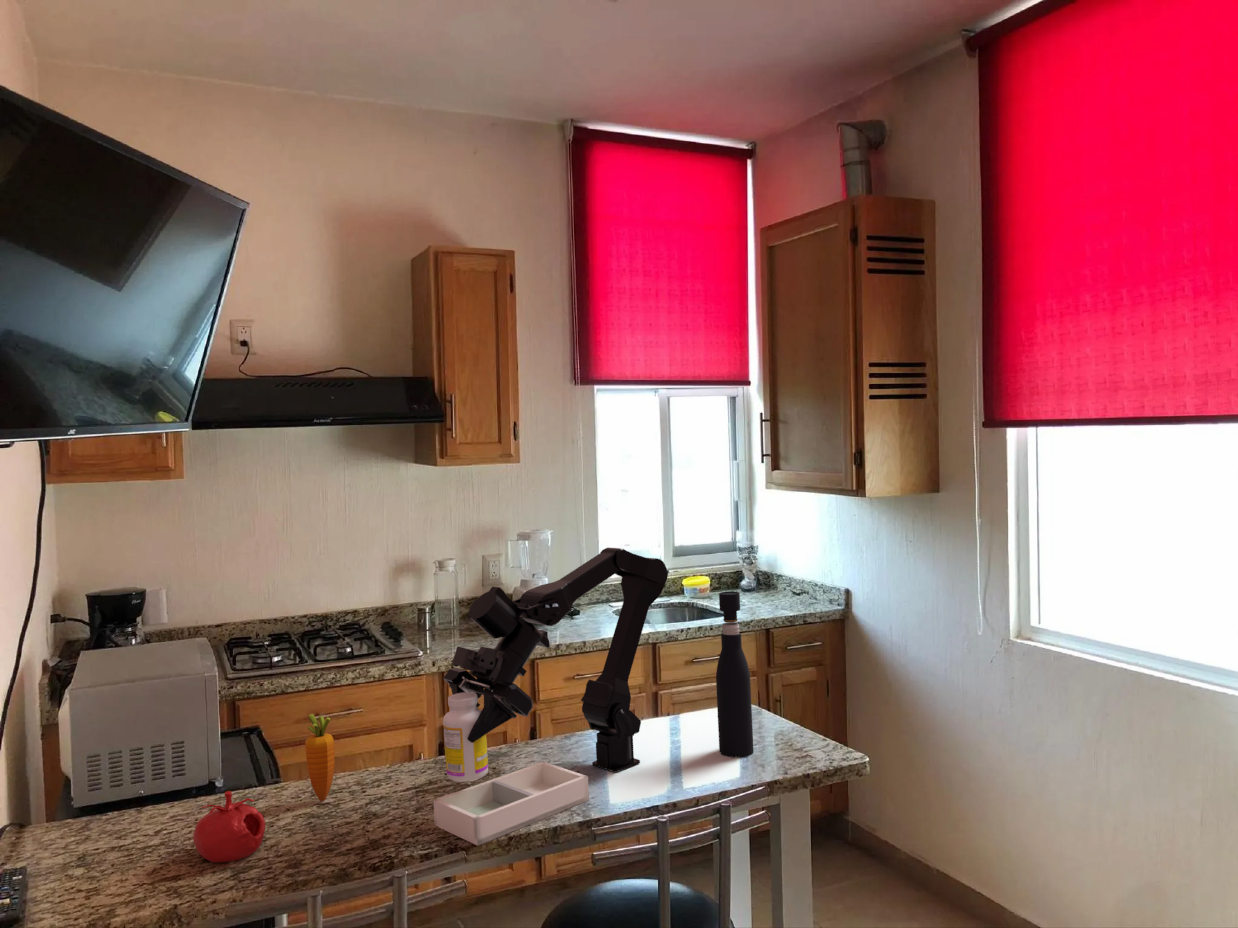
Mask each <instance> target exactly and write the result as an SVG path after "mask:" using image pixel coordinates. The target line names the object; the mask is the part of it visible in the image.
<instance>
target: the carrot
mask: <svg viewBox="0 0 1238 928" xmlns="http://www.w3.org/2000/svg"><path fill="white" fill-rule="evenodd" d="M308 719H309V721H310V722H311V724H312V725H309V726H308V727H307V729H308V730H310V731H311V732H312V733H313V734H312V735H310V736H308V737H307V738H306V739H305V741H304V748H305V749H304V751H305V757H306V758H305V760H306V767H307V773H308V777H309V779H310V780H309V781H310V784H311V786H312V790H313V791H314V794H315V795H316V797H317V798H318V800H319V801H321V802H324V801H326V799H327V797H328V796H329V792H330V790H331V788H332V784H333V779H334V773H335V761H336V760H335V759H336V758H335V757H336V756H335V755H336V753H335V739H334V737H333V735H332V734H330V733H326V729H327V726H328V725H329V723H330V721H331V718H330V717H326V718H324V716H323V715H319V716H318V720H317V718H316V717H315V715H314V713H310V714H309V715H308ZM318 721H319V722H318Z"/></svg>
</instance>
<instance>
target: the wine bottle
mask: <svg viewBox="0 0 1238 928" xmlns="http://www.w3.org/2000/svg"><path fill="white" fill-rule="evenodd" d="M718 603H719V605H718V606H719V611H720V612H723V613H722V614H723V619H722V620H723V622H724V623H722V626H721V628H722V631H721V632H722V633H721V634H720V636H721V637H720V639H721V650H720V653H719V657H718V660H717V666H716V674H715V684H716V686H715V687H716V705H717V706H716V707H717V710H716V711H717V727H718V729H717V730H718V749H719V750H718V751H719V753H720V754H721V755H722V756H725V757H728V758H729V757H730V758H743V757H744V758H745V757H749V756H751V755H752V754H753V753H754V734H753V733H754V732H753V731H754V730H753V712H752V711H753V710H752V709H753V707H752V689H751V688H752V687H751V673H750V669H749V664H748V661H747V659H746V658H747V657H746V656H745V653H744V649H743V647H742V645H743V644H742V633H740V631H741V630H740V628H741V627H740V625H739V623H738V612H739V611H741V595H740V592H738V591H721V592H719V593H718Z"/></svg>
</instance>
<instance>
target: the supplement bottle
mask: <svg viewBox="0 0 1238 928" xmlns="http://www.w3.org/2000/svg"><path fill="white" fill-rule="evenodd" d="M478 699H479V698H478V697H477V694H475V693H470V692H465V693H457V694H453V695H452V694H451V695H449V696H448V697H447V705H448V708H449V711H448V712H446V714H445V715H444V716H443V719H442V723H443V724H442V725H443V739H444V740H443V741H444V743H443V744H444V753H445V769H446V776H447V778H448V779H450V780H451V781H453V782H459V783H460V782H473V781H476V780H479V779H481V778H483V777H485V776H487V774H488V772H489V759H488V747H487V746H488V744H487V743H488V742H487V734H485V735H484V736H482V737H481V738H479V739H478V740H476V741H475V742H473V743H471V742H470V741H469V740H468V736H469V734H470V732H471V730H472V728H473V726H474V724H475V722H476V720H477V719H478V717H479V715H480V713H481V711H482V709H480V708H479V707H478V708H477V702H478V703H479V700H478Z"/></svg>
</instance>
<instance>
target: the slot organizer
mask: <svg viewBox="0 0 1238 928" xmlns="http://www.w3.org/2000/svg"><path fill="white" fill-rule="evenodd" d="M589 791H590V789H589V776H588V775H585V774H582V773H580V772H579V773H578V772H577V771H573V770H570V769H567V768H564V767H561V766H558V765H554V764H552V763H549V762H545V761H541V762H538V763H536V764H533V765H529V766H526V767H525V768H520V769H518V770H515V771H512V772H509V773H505V774H504V775H500V776H498V777H494V778H492V779H490V780H486V781H484V782H481V783H479V784H476V785H473V786H472V785H471V786H470V787H467V788H465V789H464V788H463V789H462V790H459V791H456V792H452V793H450V794H447V795H444V796H441V797H438V798H435V799H433V818H434V819H433V820H434V821H433V822H434V826H435V827H437V826H438V827H437V828H439V827H440V828H439V829H441V830H443V829H444V831H446V832H447V833H450V834H452V835H454V836H457V837H458V838H461V839H463V840H465V841H467V842H469V843H471V844H473V845H476V846H477V847H478V846H480V845H483V844H486V843H488V842H491V841H493V840H495V839H498V838H500V837H503V836H505V835H507V834H510V833H512V832H514V831H515V832H516V831H518V830H520V829H523V828H525V827H527V826H530V825H533V824H534V823H537V822H539V821H542V820H544V819H547V818H549V817H551V816H554V815H557V814H559V813H562V812H564V811H566V809H567V810H569V809H571V807H572V808H574V807H576V806H579V805H581V804H584V803H585V802H588V801H590V793H589Z"/></svg>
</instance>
